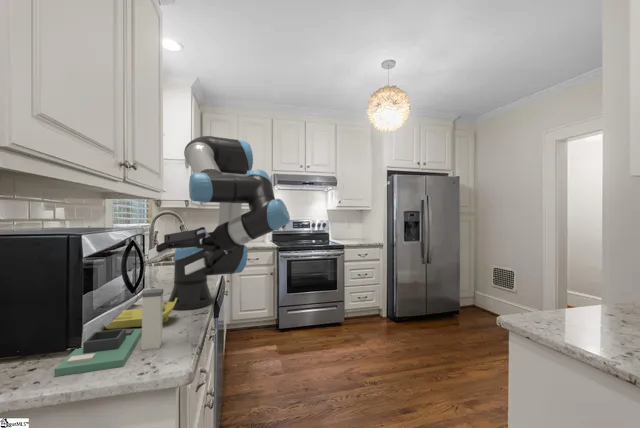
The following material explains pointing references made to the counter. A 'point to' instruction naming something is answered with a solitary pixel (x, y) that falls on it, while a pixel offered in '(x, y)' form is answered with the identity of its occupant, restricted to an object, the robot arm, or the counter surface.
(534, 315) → the counter surface
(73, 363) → the board
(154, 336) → the plug
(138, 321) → the plastic component
